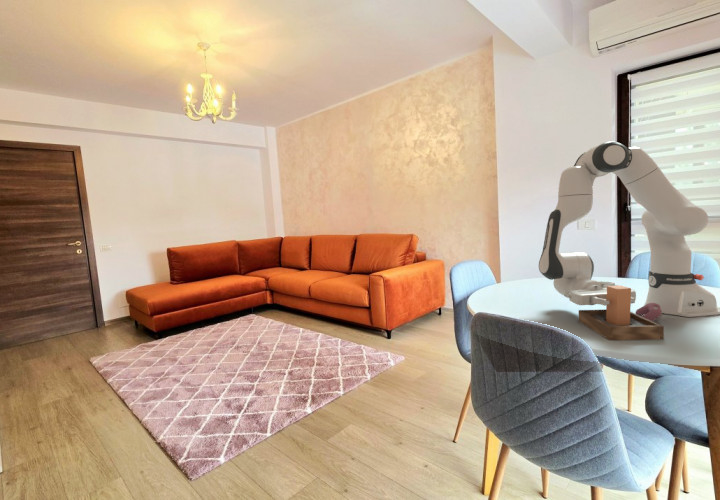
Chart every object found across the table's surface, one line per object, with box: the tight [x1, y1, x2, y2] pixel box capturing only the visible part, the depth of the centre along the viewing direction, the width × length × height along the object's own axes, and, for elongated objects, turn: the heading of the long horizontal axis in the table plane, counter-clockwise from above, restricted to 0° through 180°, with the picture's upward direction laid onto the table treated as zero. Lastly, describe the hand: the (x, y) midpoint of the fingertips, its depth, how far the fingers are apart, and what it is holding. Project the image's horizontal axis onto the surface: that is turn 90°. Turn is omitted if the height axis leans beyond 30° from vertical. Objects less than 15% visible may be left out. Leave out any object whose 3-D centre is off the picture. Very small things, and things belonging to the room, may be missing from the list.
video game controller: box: [635, 302, 663, 322], centre depth 119 cm, size 10×5×7 cm, turn 150°
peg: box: [605, 284, 632, 325], centre depth 111 cm, size 4×4×14 cm
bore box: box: [578, 309, 665, 341], centre depth 111 cm, size 15×18×4 cm
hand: (620, 302), depth 110 cm, fingers open, 7 cm apart
